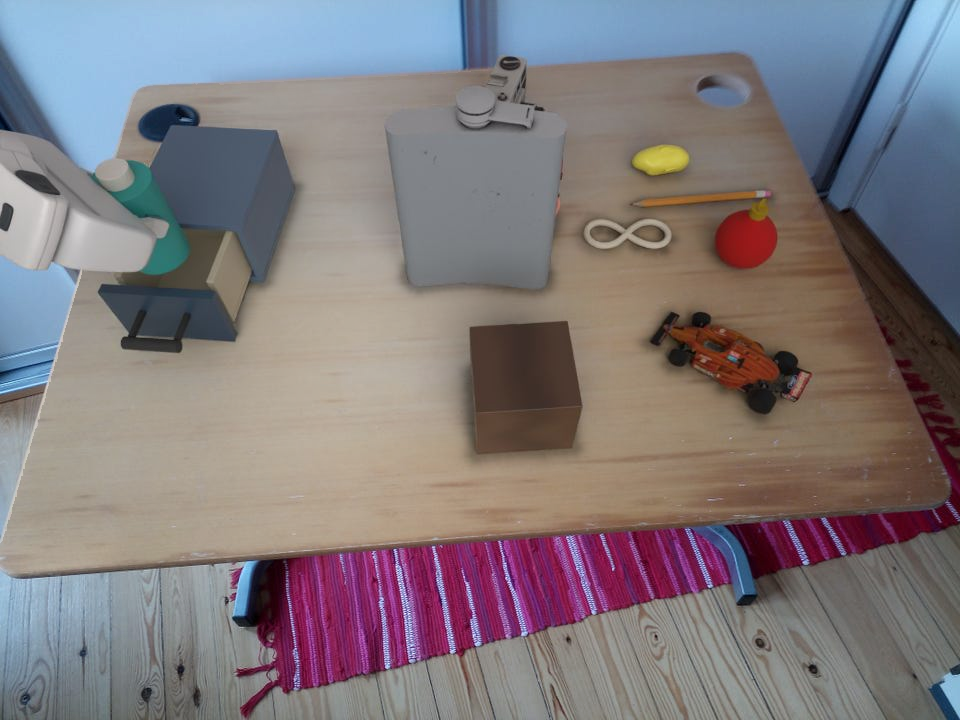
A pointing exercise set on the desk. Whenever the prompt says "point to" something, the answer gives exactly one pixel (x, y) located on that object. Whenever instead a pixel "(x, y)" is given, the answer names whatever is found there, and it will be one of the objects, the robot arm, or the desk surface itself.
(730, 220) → the christmas ornament
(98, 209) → the robot arm
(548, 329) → the stand
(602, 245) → the decorative object
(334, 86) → the desk surface
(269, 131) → the cabinet
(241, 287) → the drawer
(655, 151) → the lemon
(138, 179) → the detergent bottle
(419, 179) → the flask
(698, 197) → the pencil
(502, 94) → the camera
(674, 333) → the toy car
